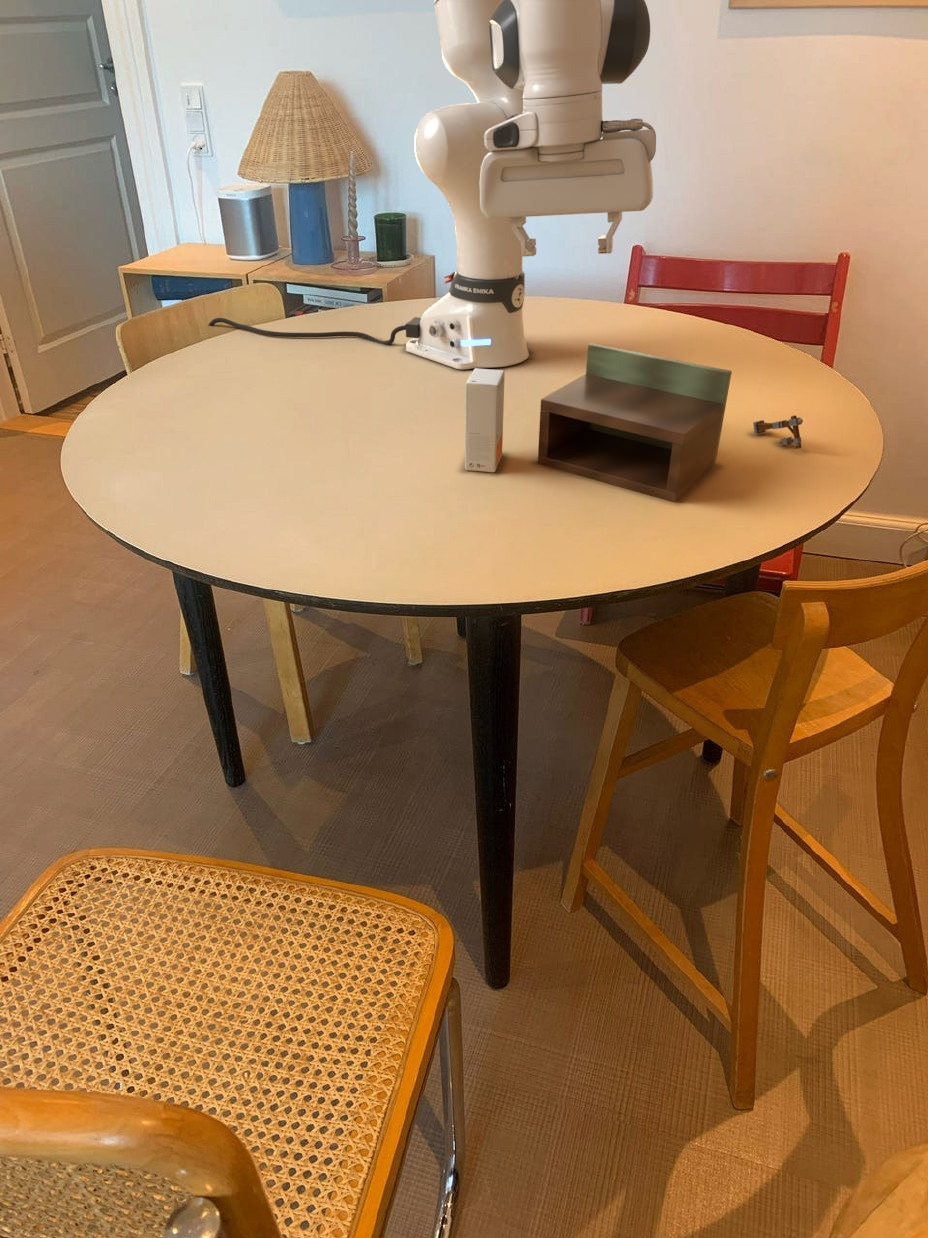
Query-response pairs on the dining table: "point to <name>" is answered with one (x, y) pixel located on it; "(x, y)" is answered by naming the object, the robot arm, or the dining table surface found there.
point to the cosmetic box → (484, 419)
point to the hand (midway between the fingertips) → (566, 254)
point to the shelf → (636, 422)
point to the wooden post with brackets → (794, 421)
